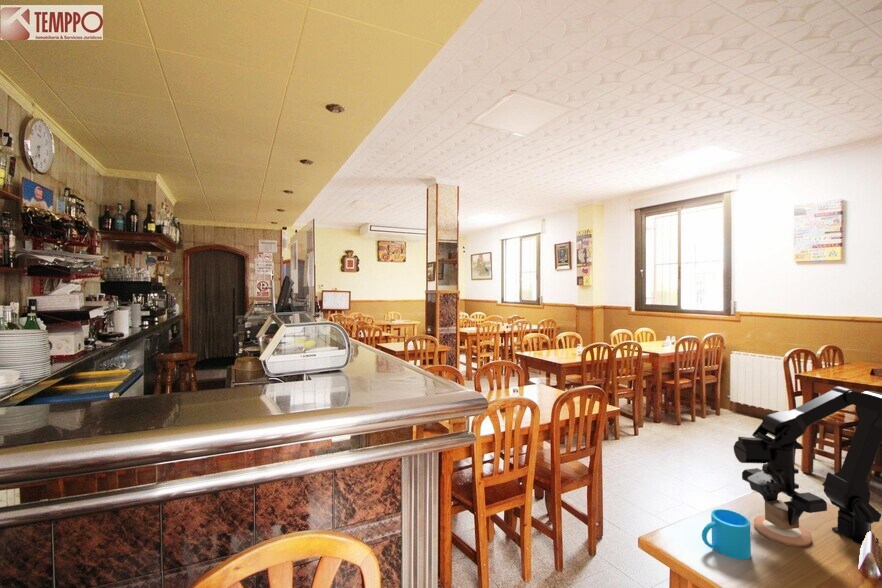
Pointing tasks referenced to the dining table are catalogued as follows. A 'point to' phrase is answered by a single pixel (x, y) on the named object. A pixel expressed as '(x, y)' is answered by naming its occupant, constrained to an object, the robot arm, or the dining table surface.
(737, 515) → the mug
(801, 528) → the terracotta dish
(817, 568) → the dining table surface
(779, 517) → the walnut block
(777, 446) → the robot arm
